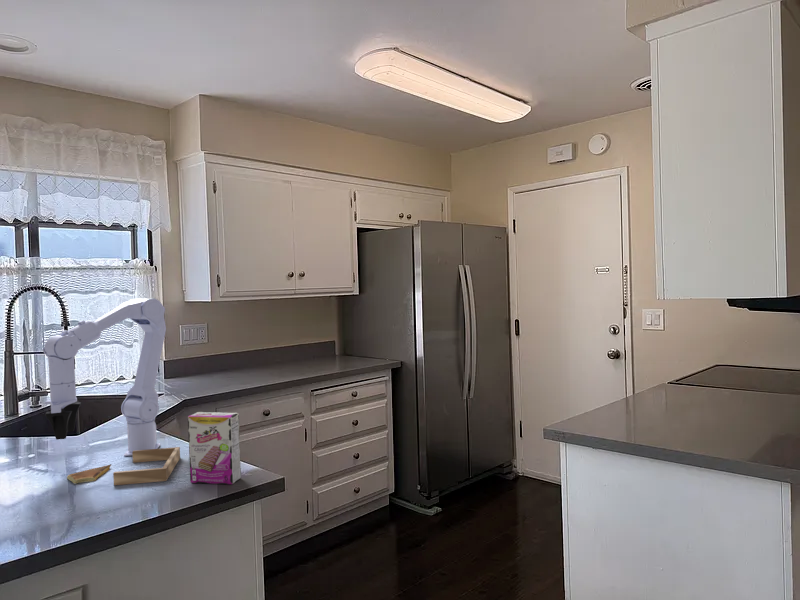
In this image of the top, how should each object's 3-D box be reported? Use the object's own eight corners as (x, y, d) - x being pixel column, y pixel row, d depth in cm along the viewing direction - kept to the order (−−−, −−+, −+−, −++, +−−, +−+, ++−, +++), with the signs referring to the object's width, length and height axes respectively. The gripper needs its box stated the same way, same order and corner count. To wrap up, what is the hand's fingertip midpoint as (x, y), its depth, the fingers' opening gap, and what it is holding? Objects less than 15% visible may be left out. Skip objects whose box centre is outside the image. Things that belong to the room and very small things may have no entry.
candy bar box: (189, 484, 142) (186, 416, 141) (199, 476, 147) (196, 411, 146) (233, 485, 140) (230, 416, 139) (242, 478, 145) (239, 411, 144)
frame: (133, 461, 161) (133, 450, 161) (180, 457, 163) (179, 446, 163) (113, 485, 142) (113, 473, 142) (166, 480, 145) (166, 468, 145)
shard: (111, 469, 156) (111, 462, 156) (122, 475, 151) (122, 468, 151) (66, 480, 149) (66, 473, 149) (76, 487, 143) (76, 480, 143)
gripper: (53, 379, 158) (56, 429, 158) (35, 388, 144) (38, 444, 144) (82, 377, 160) (85, 427, 160) (68, 386, 146) (71, 441, 146)
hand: (65, 435), depth 152 cm, fingers open, 7 cm apart
